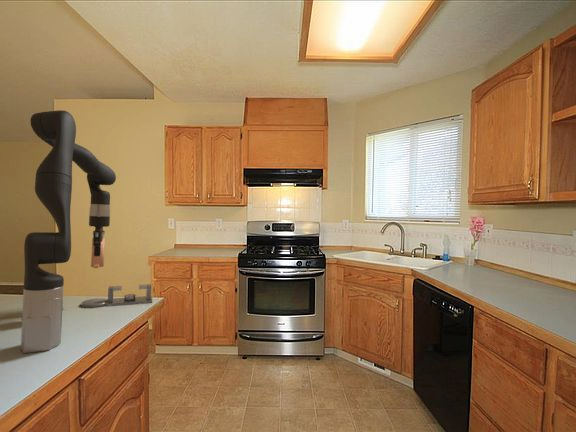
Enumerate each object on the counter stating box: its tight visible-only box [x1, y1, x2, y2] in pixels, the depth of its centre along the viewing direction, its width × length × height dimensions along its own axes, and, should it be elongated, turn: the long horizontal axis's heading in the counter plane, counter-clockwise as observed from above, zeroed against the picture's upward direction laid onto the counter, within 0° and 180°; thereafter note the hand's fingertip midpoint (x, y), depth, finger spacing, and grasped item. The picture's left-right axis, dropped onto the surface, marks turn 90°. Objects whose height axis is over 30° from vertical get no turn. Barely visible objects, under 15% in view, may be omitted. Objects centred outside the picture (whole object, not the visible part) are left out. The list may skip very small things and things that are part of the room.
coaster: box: [81, 297, 108, 309], centre depth 132 cm, size 10×10×1 cm
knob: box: [90, 237, 106, 269], centre depth 132 cm, size 5×9×12 cm, turn 25°
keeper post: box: [105, 283, 153, 307], centre depth 137 cm, size 8×18×7 cm, turn 116°
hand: (97, 255), depth 132 cm, fingers closed on knob, 4 cm apart
